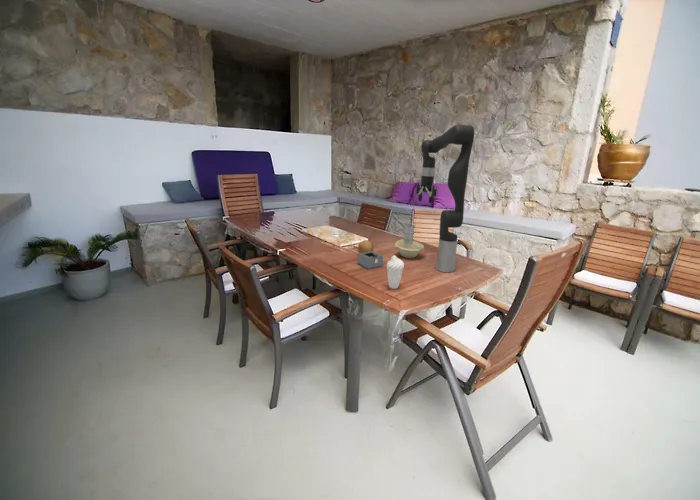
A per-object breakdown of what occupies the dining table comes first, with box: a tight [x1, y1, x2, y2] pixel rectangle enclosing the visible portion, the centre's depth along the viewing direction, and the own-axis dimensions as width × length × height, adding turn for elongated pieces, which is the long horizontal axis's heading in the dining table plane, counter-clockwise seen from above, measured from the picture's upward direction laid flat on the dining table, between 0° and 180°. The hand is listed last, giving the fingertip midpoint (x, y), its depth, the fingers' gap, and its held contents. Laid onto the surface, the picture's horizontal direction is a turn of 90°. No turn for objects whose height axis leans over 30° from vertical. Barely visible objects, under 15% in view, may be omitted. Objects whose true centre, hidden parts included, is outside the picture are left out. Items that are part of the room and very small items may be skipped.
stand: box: [355, 250, 385, 271], centre depth 178 cm, size 12×12×8 cm
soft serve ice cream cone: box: [386, 255, 405, 290], centre depth 150 cm, size 8×8×16 cm
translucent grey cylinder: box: [402, 223, 416, 245], centre depth 194 cm, size 5×5×12 cm
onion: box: [357, 239, 375, 253], centre depth 196 cm, size 10×10×10 cm
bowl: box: [394, 238, 425, 259], centre depth 197 cm, size 14×18×15 cm
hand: (425, 201), depth 197 cm, fingers open, 8 cm apart
